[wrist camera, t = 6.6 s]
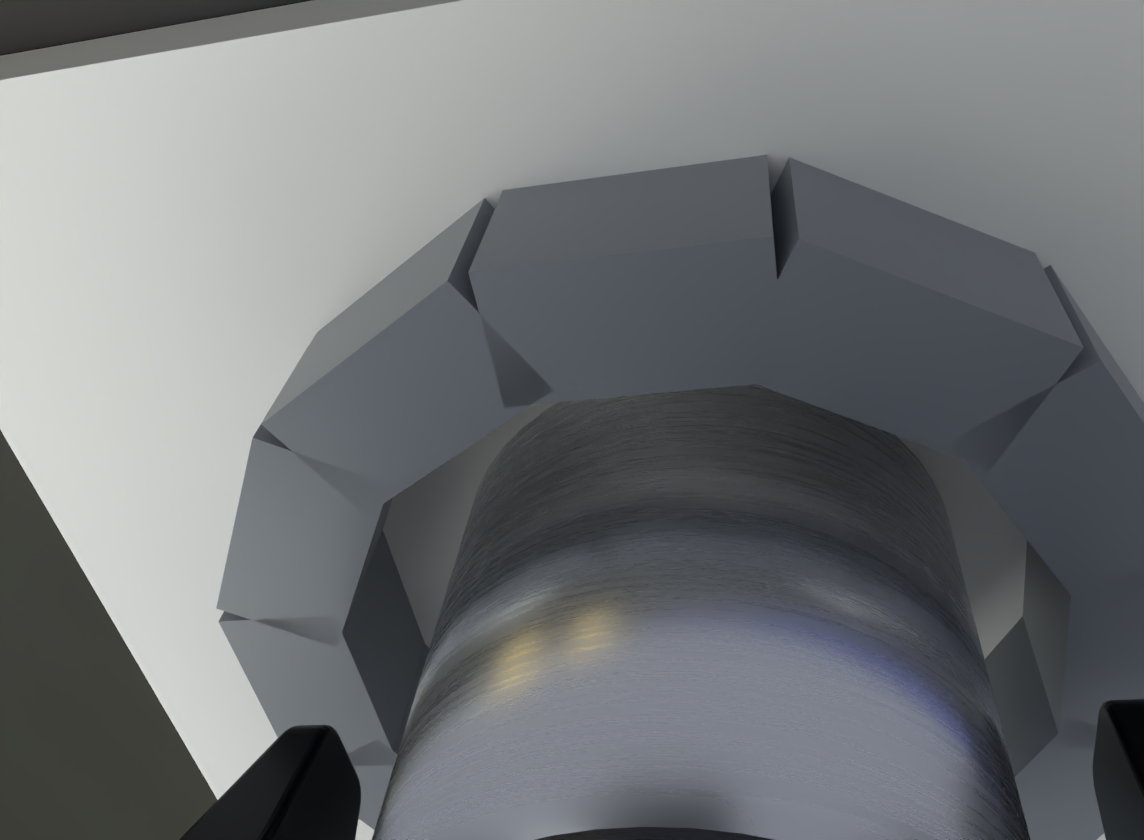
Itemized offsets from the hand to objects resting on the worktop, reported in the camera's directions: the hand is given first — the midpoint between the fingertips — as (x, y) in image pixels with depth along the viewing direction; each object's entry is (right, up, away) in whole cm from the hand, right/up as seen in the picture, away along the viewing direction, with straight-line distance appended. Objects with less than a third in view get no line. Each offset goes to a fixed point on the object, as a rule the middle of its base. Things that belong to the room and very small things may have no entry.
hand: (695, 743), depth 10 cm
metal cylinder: (0, +1, +2) cm, 2 cm away
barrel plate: (0, +2, +3) cm, 3 cm away
